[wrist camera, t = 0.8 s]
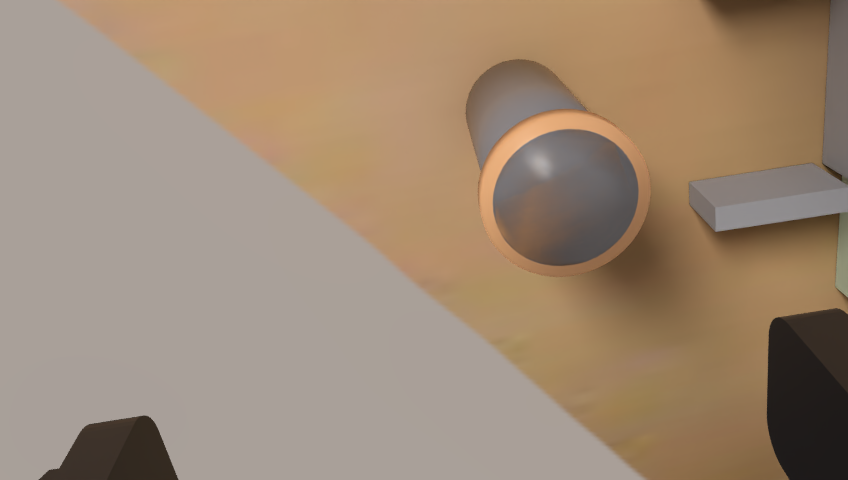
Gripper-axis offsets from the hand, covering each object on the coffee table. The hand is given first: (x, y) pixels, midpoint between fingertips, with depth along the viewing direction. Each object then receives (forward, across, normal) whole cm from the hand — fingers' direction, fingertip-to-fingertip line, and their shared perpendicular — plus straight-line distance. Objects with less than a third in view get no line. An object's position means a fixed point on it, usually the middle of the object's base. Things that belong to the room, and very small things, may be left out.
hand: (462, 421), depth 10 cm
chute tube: (+27, -4, +4) cm, 28 cm away
